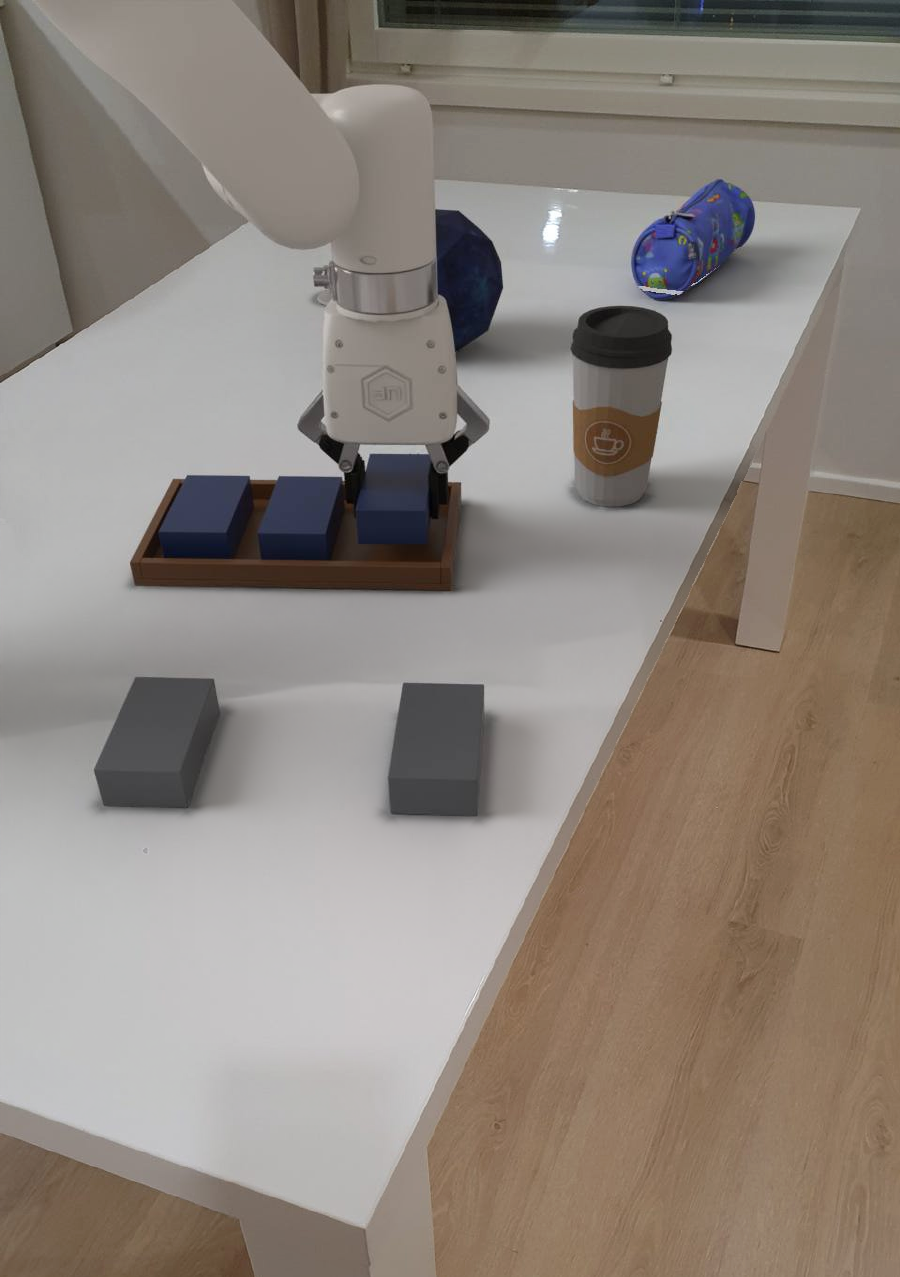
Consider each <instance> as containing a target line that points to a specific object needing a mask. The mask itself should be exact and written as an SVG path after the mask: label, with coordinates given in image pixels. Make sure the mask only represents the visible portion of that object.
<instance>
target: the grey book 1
mask: <svg viewBox="0 0 900 1277" xmlns="http://www.w3.org/2000/svg"><path fill="white" fill-rule="evenodd" d="M220 715H221V710H220V704H219V698H218V694H217V688H216V682H215V678H213V677H212V678H211V677H210V678H208V677H207V678H205V677H165V676H164V677H163V676H161V677H157V676H135V677H134V678H133V681H132V683H131V686H130V687H129V690H128V692H127V694H126V696H125V699H124V701H123V704H122V705H121V708H120V710H119V712H118V714H117V716H116V719H115V721H114V723H113V726H112V728H111V730H110V733H109V734H108V737H107V739H106V741H105V744H104V745H103V748H102V750H101V752H100V755H99V757H98V759H97V761H96V763H95V766H94V768H93V773H94V776H95V780H96V783H97V787H98V790H99V794H100V798H101V802H102V805H103V806H108V807H109V806H111V807H113V806H114V807H141V808H142V807H144V808H145V807H146V808H148V807H149V808H184V809H187V808H189V805H190V802H191V799H192V797H193V794H194V790H195V788H196V785H197V782H198V780H199V776H200V774H201V770H202V768H203V764H204V762H205V759H206V756H207V752H208V750H209V747H210V743H211V741H212V738H213V735H214V732H215V730H216V727H217V724H218V721H219V718H220Z"/></svg>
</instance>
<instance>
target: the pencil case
mask: <svg viewBox="0 0 900 1277" xmlns="http://www.w3.org/2000/svg"><path fill="white" fill-rule="evenodd" d="M755 223H756V210H755V206H754V203H753V201H752V198H751V197H750V196H749V195H748V194H747V193H746V192H745V190H744V189H742V188H740V187H739V186H737V185H735V184H732V183H730V182H726V181H724V180H723V179H720V178H717V179H715V180H714V181H711V182H709V183H708V184H706V185H704V186H702V188H700V189H699V190H697V191H696V192H695V193H694V194H692V195H691V196H690V197H689V198H688V199H687V200H686V201H685V202H684V203H683V204H682V205H681V206H680V207H679V208H678V209H677V210H676V211H675V210H670V211H669V213H668V214H667V215H664V216H663V217H662V218H658V219H656V220H655V221H653V222H652V223H651V224H649V225H648V226H647V227H646V228H645V229H644V230H643V231H642V232H641V233H640V234H639V236H638V238H637V239H636V241H635V243H634V244H633V248H632V251H631V257H630V265H631V273H632V277H633V280H634V282H635V284H636V286H637V287H638V286H646V287H650V288H657V289H667V290H676V291H685V292H687V291H688V290H690V289H691V288H693V287H695V286H696V285H698V284H699V283H701V282H703V281H704V280H705V279H703V280H701V281H700V282H698V281H699V280H700V279H701V278H703V277H704V276H706V274H708V273H710V272H711V271H713V270H714V269H715V268H717V267H718V266H719V265H720V266H721V265H722V264H724V262H725V261H727V259H729V258H730V257H731V255H732V254H733V253H734V252H735V251H736V250H735V249H737V248H739V247H740V248H742V247H743V246H744V245H745V244H746V243H747V242H748V240H749V239H750V238H751V236H752V233H753V231H754V227H755ZM740 248H739V249H740ZM734 250H735V251H734ZM737 250H738V249H737ZM733 251H734V252H733ZM720 266H719V267H720ZM719 267H718V268H719ZM718 268H717V269H718ZM715 271H716V270H714V271H713V272H715ZM711 274H712V273H710V274H709V275H711ZM696 282H698V283H697V284H695V285H693V286H691V285H692V284H693V283H696ZM642 292H643V294H645V295H646V296H648V297H649V298H651V299H653V300H655V301H656V300H657V301H668V300H671V299H673V298H676V297H681V296H682V295H684V293H682V294H680V295H677V294H675V295H671V294H666V293H656V292H651V291H642Z"/></svg>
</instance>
